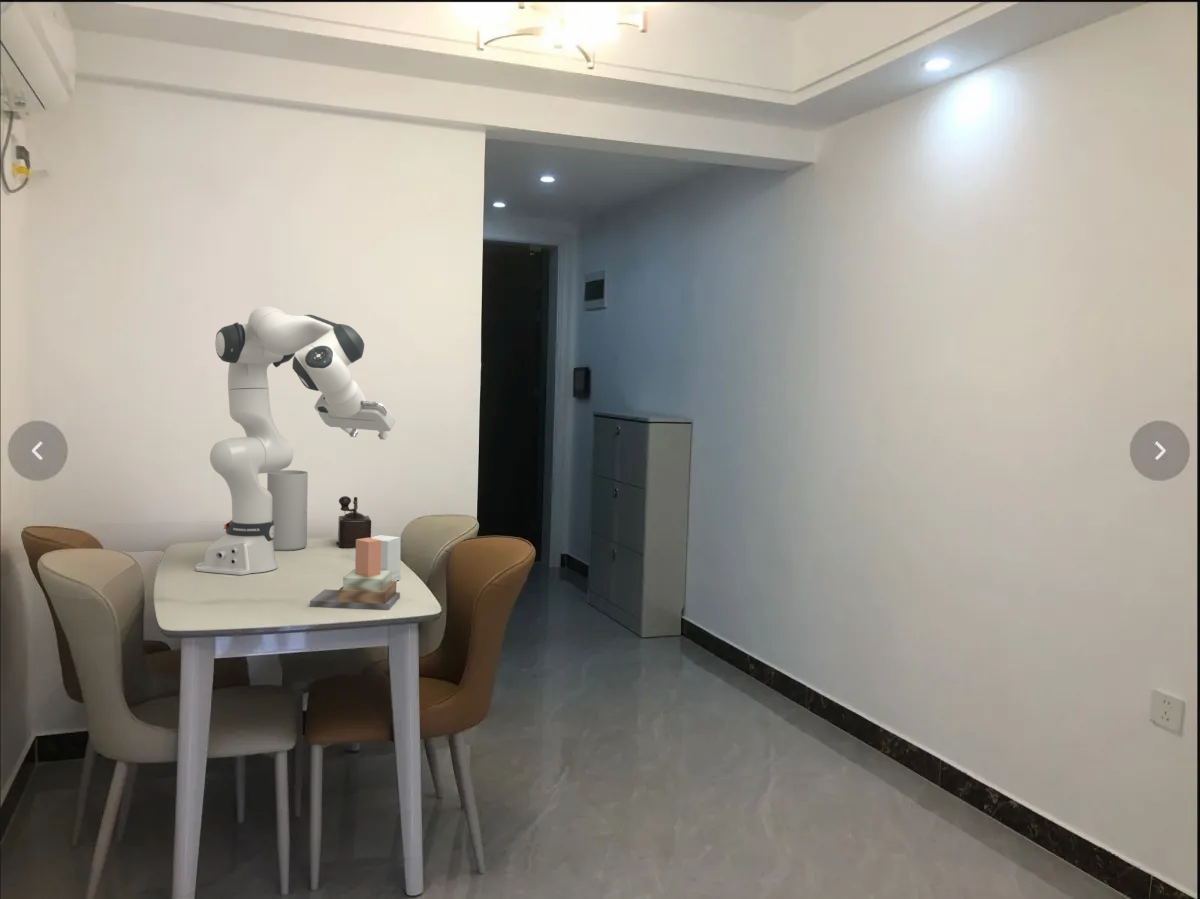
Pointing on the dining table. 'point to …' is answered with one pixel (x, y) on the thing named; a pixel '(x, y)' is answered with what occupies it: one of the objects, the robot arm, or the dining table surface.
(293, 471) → the cylinder vase
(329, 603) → the build plinth
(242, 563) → the robot arm
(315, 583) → the dining table surface
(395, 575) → the supplement box
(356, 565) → the block
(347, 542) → the manual coffee grinder
